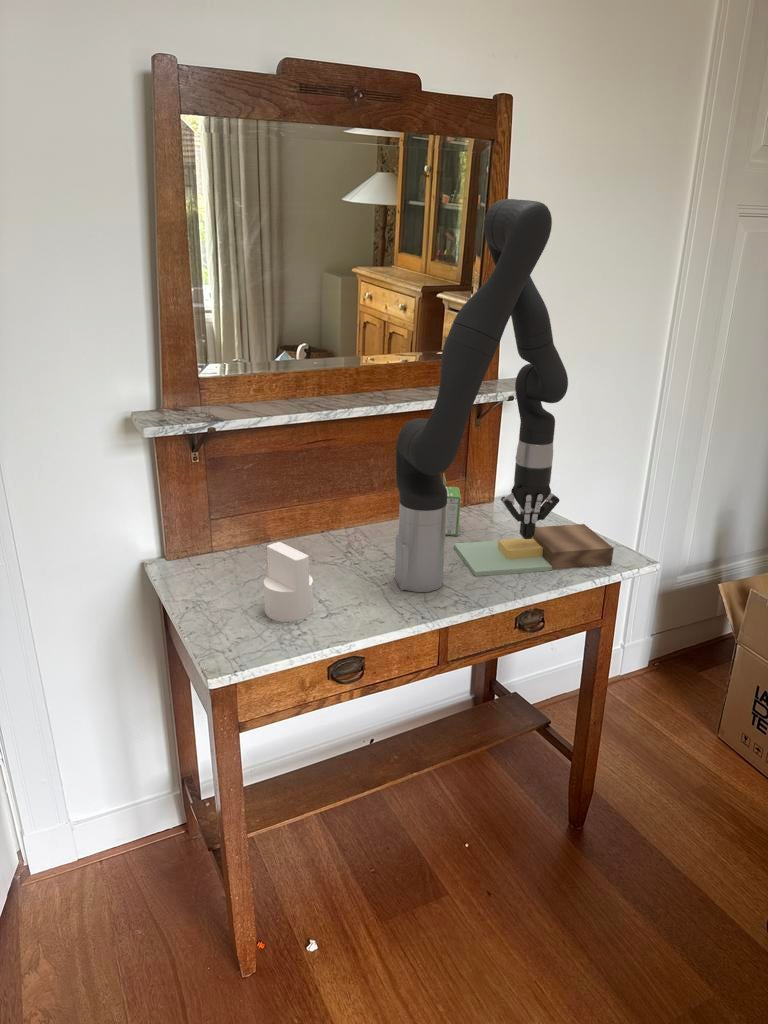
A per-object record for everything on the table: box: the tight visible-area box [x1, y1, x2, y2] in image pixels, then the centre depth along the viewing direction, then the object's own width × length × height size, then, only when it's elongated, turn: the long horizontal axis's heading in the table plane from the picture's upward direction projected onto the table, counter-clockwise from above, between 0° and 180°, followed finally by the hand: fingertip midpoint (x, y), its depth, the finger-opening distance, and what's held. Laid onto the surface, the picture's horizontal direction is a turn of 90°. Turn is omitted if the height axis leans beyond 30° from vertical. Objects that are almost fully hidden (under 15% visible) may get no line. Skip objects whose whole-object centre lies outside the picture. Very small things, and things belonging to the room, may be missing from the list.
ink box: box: [442, 472, 462, 537], centre depth 177 cm, size 7×4×13 cm, turn 179°
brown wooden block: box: [532, 523, 614, 570], centre depth 167 cm, size 14×14×4 cm
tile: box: [497, 537, 543, 559], centre depth 165 cm, size 8×6×2 cm
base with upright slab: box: [263, 541, 314, 623], centre depth 139 cm, size 9×9×12 cm
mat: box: [453, 540, 553, 577], centre depth 164 cm, size 17×15×1 cm
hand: (526, 537), depth 164 cm, fingers closed
